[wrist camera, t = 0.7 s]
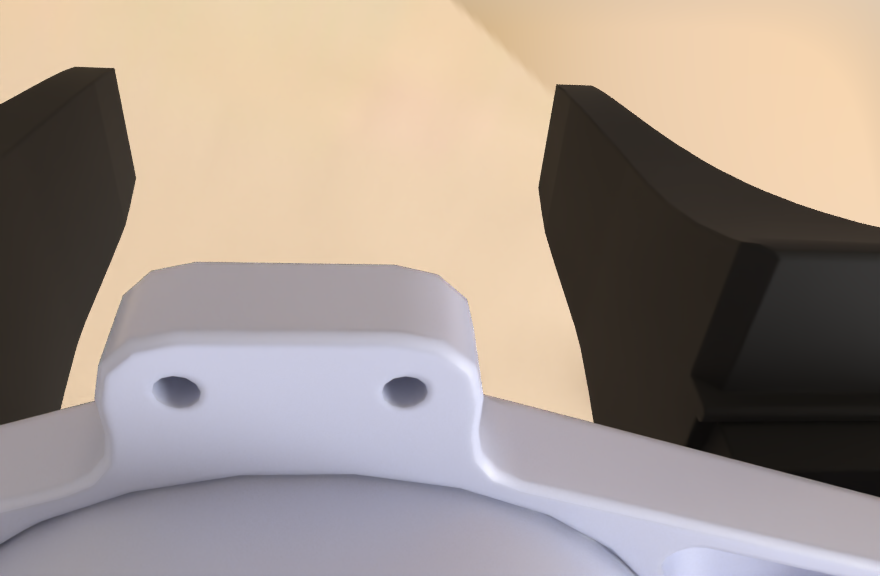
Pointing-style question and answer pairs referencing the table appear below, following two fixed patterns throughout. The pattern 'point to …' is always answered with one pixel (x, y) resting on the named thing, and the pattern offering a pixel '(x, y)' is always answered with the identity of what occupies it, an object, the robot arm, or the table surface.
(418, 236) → the table surface
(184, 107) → the table surface
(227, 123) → the table surface
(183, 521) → the robot arm
